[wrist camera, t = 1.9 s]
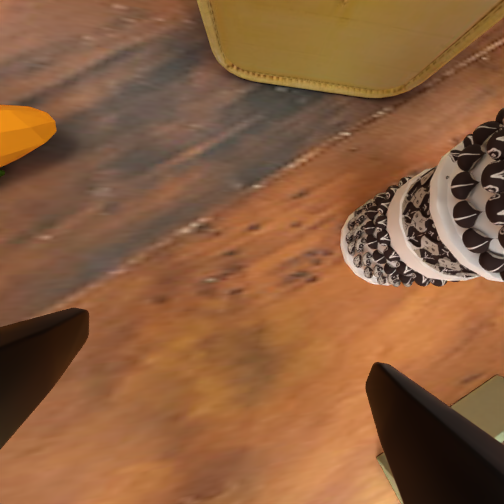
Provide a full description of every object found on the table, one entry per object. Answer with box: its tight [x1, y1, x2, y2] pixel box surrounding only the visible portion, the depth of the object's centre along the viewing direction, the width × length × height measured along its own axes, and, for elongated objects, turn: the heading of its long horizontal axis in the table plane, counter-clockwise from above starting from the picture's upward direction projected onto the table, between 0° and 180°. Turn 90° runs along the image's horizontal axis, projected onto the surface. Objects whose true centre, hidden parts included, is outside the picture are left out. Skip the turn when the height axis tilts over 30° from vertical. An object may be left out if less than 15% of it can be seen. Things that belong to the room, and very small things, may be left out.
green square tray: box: [377, 375, 504, 504], centre depth 21 cm, size 14×13×4 cm
